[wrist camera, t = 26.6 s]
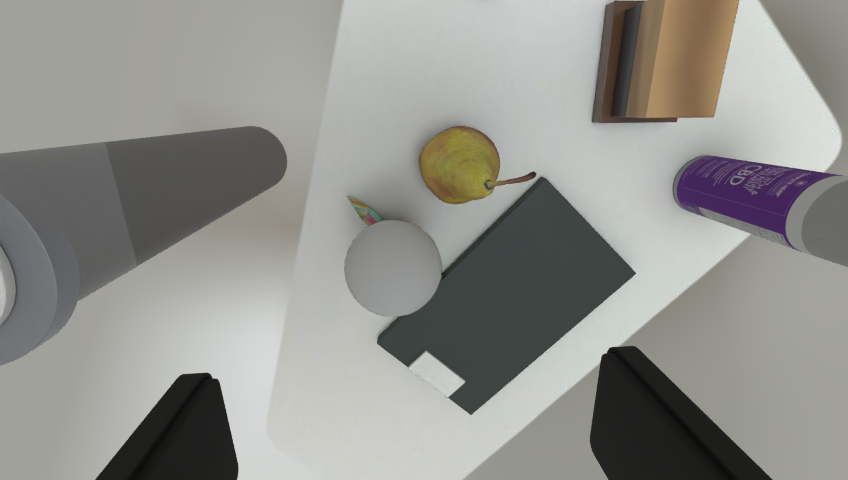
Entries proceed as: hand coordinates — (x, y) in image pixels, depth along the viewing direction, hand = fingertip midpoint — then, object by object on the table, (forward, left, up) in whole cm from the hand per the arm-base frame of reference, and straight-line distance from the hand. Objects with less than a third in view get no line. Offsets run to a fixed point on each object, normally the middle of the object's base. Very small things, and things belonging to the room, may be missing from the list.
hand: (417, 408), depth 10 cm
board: (+8, -10, -23) cm, 26 cm away
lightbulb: (-1, -3, -23) cm, 24 cm away
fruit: (+4, +3, -23) cm, 24 cm away
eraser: (+17, +10, -22) cm, 30 cm away
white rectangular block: (+2, -16, -22) cm, 27 cm away
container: (+24, +1, -23) cm, 34 cm away
